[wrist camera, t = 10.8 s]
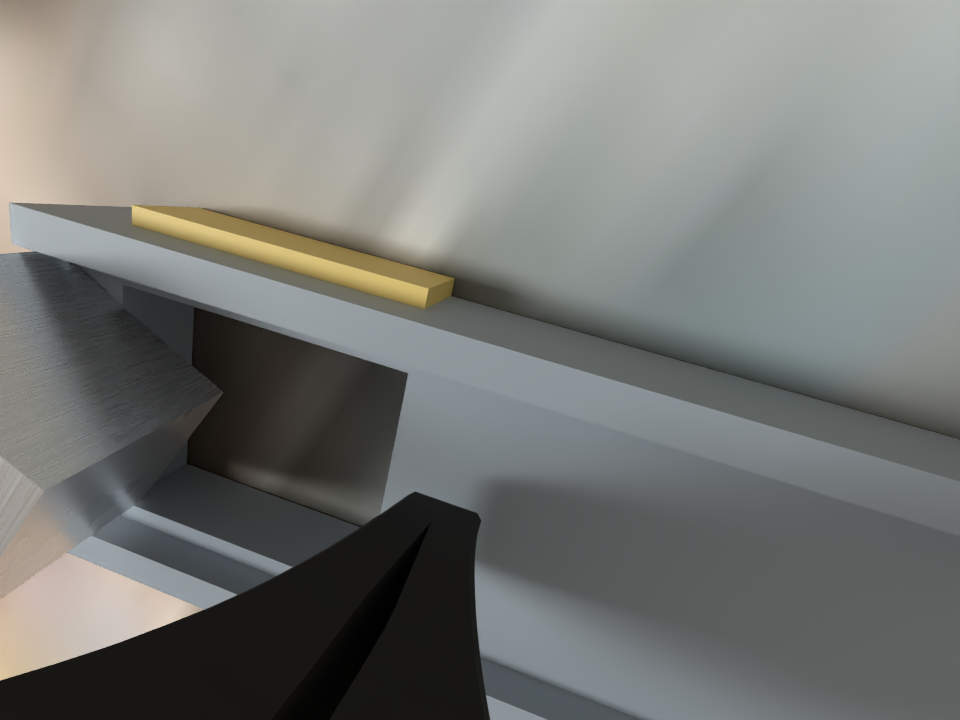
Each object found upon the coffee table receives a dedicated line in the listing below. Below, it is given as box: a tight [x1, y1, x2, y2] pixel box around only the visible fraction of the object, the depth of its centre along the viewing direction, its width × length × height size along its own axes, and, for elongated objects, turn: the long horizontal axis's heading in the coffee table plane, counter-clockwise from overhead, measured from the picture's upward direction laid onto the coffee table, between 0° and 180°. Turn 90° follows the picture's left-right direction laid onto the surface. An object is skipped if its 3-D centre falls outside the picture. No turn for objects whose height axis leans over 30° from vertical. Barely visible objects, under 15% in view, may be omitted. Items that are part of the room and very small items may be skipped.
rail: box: [9, 203, 960, 720], centre depth 10 cm, size 9×24×3 cm, turn 76°
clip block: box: [0, 252, 224, 599], centre depth 9 cm, size 4×4×4 cm
